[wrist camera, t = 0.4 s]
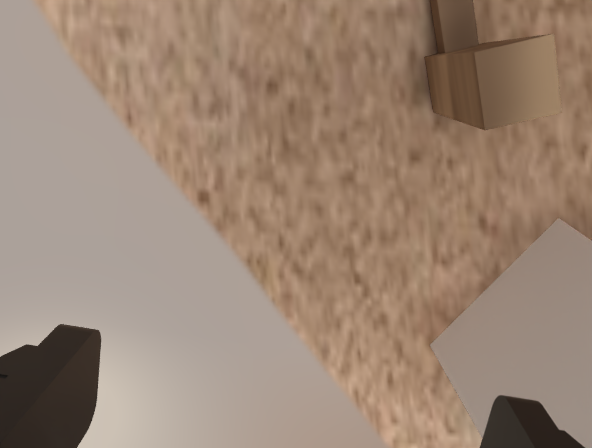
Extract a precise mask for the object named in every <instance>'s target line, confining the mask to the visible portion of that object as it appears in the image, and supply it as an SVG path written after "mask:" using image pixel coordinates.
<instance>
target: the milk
mask: <svg viewBox="0 0 592 448" xmlns="http://www.w3.org/2000/svg"><path fill="white" fill-rule="evenodd" d="M430 347H431V348H432V350H433V352H434V354H435V355H436V357H437V359H438V361H439V363H440V364H441V366H442V368H443V370H444V371H445V373H446V375H447V377H448V378H449V380H450V382H451V384H452V385H453V387H454V389H455V391H456V393H457V394H458V396H459V398H460V400H461V401H462V403H463V405H464V407H465V408H466V410H467V412H468V414H469V415H470V417H471V419H472V421H473V422H474V424H475V426H476V428H477V430H478V431H479V433H480V435H481V437H482V438H483V436H484V432H485V429H486V425H487V422H488V418H489V415H490V412H491V408H492V405H493V402H494V400H495V399H496V398H497V397H498V396H499V395H505V396H511V397H517V398H524V399H530V400H536V401H539V402H540V403H541V404H542V405H543V407H544V408H545V410H546V411H547V413H548V414H549V416H550V417H551V419H552V420H553V422H554V423H555V424H556V426H557V427H558V429H559V430H564V431H566V432H567V433H568V434H569V435H570V436H572V437H573V438H574V439H575V440H576V441H578V442H579V443H580V444H581V445H582V446H584V447H585V448H592V240H590V239H589V238H587V237H586V236H584V235H583V234H581V233H580V232H579V231H577V230H576V229H574V228H573V227H571V226H570V225H568V224H567V223H565V222H564V221H562V220H561V219H560V218H558V219H557V220H556V221H555V222H554V223H553V224H552V225H551V226H550V227H549V228H548V229H547V230H546V231H545V232H544V233H543V234H542V235H541V236H540V237H539V238H538V239H537V240H536V241H535V242H534V243H533V244H532V245H531V246H529V247H528V248H527V249H526V250H525V251H524V252H523V253H522V254H521V255H520V256H519V257H518V258H517V259H516V260H515V261H514V262H513V263H512V264H511V265H510V266H509V267H508V268H507V269H506V270H505V271H504V272H503V273H502V274H501V275H500V276H499V277H498V278H497V279H496V280H495V281H494V282H493V283H492V284H491V285H490V286H489V287H488V288H487V289H486V290H485V291H484V292H483V293H482V294H481V295H480V296H479V297H478V298H477V299H476V300H475V301H474V302H473V303H472V304H471V305H470V306H469V307H468V308H467V309H466V310H465V311H464V312H463V313H462V314H461V315H460V316H459V317H458V318H457V319H455V320H454V321H453V322H452V323H451V324H450V325H449V326H448V327H447V328H446V329H445V330H444V331H443V332H442V333H441V334H440V335H439V336H438V337H437V338H436V339H435V340H434V341H433V342H432V343H431V344H430Z"/></svg>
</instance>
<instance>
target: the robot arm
mask: <svg viewBox="0 0 592 448" xmlns="http://www.w3.org/2000/svg"><path fill="white" fill-rule="evenodd" d="M100 349H101V335H100V332H99V330H95V329H89V328H83V327H76V326H70V325H64V324H60V325H58V326H57V327H56V328H55V329H54V330H53V331H52V332H51V333H50V334H49V335H48V336H47V337H46V338H45V339H44V340H43V341H42V342H41V343H40V344H39V345H38V346H33V345H24V346H22V347H20V348H18V349H16V350H14V351H11V352H9V353H7V354H5V355H3V356H1V357H0V448H77V447H78V445H79V443H80V442H81V440H82V439H83V437H84V435H85V434H86V432H87V430H88V428H89V426H90V424H91V421H92V418H93V415H94V411H95V407H96V401H97V389H98V377H99V362H100ZM480 448H585V447H584V446H582V445H581V444H580V443H579V442H578V441H576V440H575V439H574V438H573V437H572V436H570V435H569V434H568V433H567V432H566V431H564V430H559V429H558V427H557V426H556V424H555V423H554V422H553V420H552V419H551V417H550V416H549V414H548V413H547V411H546V410H545V408H544V407H543V405H542V404H541V403H540V402H539V401H536V400H530V399H524V398H517V397H511V396H505V395H499V396H498V397H497V398H496V399H495V400H494V402H493V405H492V408H491V412H490V415H489V418H488V422H487V425H486V429H485V432H484V436H483V439H482V442H481V446H480Z"/></svg>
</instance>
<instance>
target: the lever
mask: <svg viewBox="0 0 592 448" xmlns="http://www.w3.org/2000/svg"><path fill="white" fill-rule="evenodd" d="M430 3H431V9H432V16H433V22H434V29H435V35H436V42H437V48H438V54H434V55H430V56H426V57H425V62H426V69H427V75H428V81H429V87H430V93H431V100H432V106H433V112H434V113H437V114H440V115H443V116H446V117H448V118H451V119H454V120H457V121H460V122H463V123H466V124H469V125H472V126H474V127H477V128H480V129H483V130H488V129H493V128H497V127H501V126H506V125H510V124H515V123H519V122H524V121H528V120H533V119H537V118H542V117H546V116H551V115H555V114H559V113H562V107H561V97H560V87H559V77H558V67H557V58H556V48H555V38H554V34H548V35H541V36H534V37H526V38H519V39H511V40H504V41H497V42H489V43H482V44H479V43H478V36H477V28H476V21H475V13H474V6H473V0H430Z"/></svg>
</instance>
